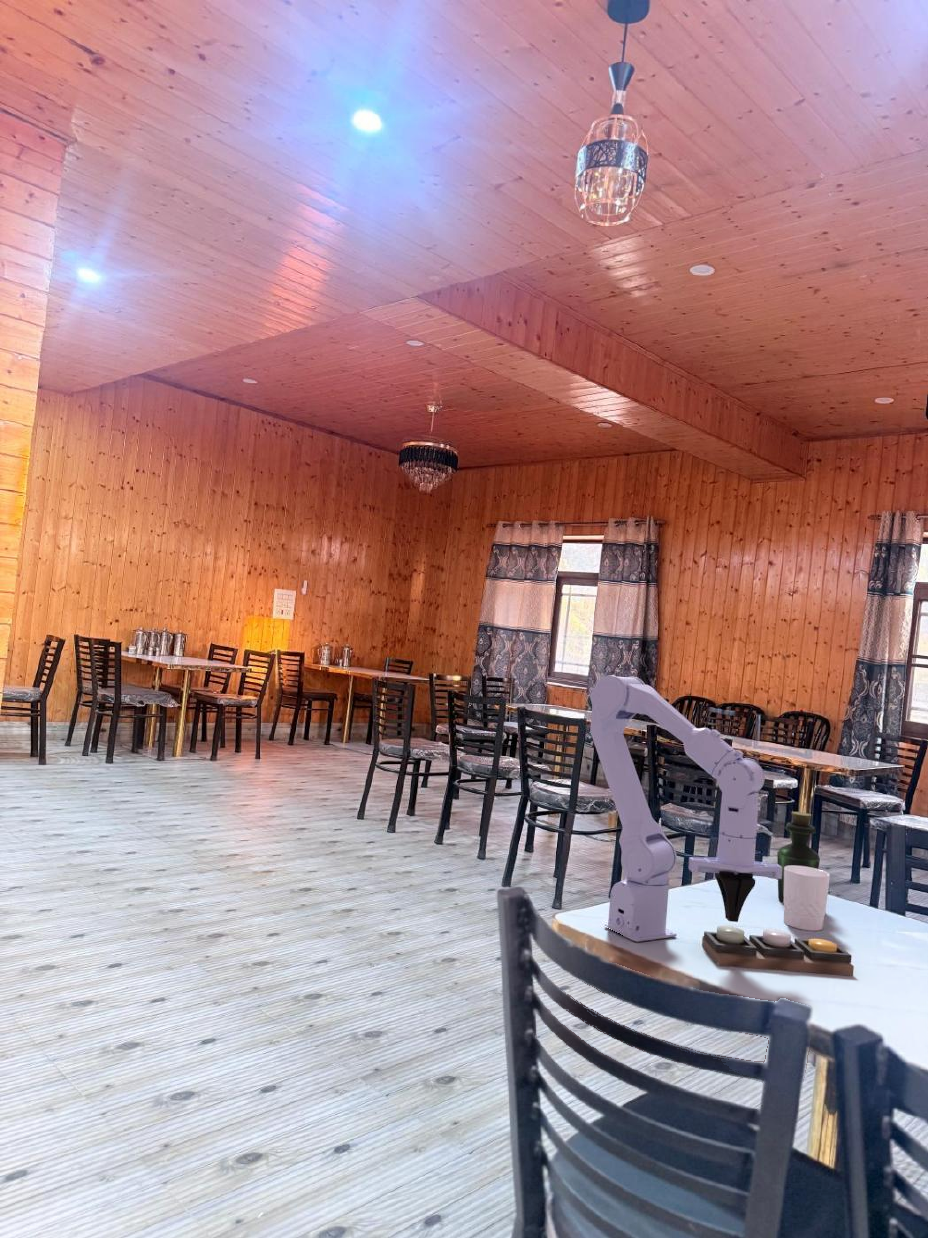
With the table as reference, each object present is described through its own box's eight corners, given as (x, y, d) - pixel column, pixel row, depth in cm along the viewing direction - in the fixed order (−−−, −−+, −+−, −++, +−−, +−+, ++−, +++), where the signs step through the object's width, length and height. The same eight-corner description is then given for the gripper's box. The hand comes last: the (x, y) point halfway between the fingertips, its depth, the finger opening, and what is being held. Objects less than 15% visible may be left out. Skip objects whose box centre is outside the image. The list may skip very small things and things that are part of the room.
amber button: (814, 955, 136) (815, 946, 136) (803, 946, 140) (804, 937, 140) (841, 957, 136) (841, 948, 136) (829, 948, 140) (829, 939, 140)
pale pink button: (768, 946, 136) (768, 937, 136) (758, 937, 140) (759, 928, 140) (794, 948, 136) (795, 939, 136) (784, 939, 140) (784, 930, 140)
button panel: (717, 965, 133) (719, 947, 133) (700, 945, 142) (701, 929, 142) (854, 976, 134) (855, 958, 134) (828, 955, 143) (829, 939, 143)
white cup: (822, 935, 154) (825, 879, 154) (776, 925, 158) (780, 870, 158) (829, 925, 160) (833, 871, 161) (785, 915, 164) (788, 863, 165)
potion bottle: (774, 904, 172) (781, 814, 173) (773, 894, 180) (779, 808, 180) (818, 911, 170) (824, 819, 170) (815, 901, 177) (821, 813, 178)
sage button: (721, 942, 136) (721, 933, 136) (712, 933, 140) (713, 925, 140) (747, 944, 136) (748, 935, 136) (738, 935, 140) (739, 927, 140)
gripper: (700, 836, 134) (693, 924, 134) (791, 843, 135) (786, 931, 134) (687, 827, 141) (681, 910, 141) (774, 834, 142) (769, 917, 141)
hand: (731, 920), depth 138 cm, fingers closed
